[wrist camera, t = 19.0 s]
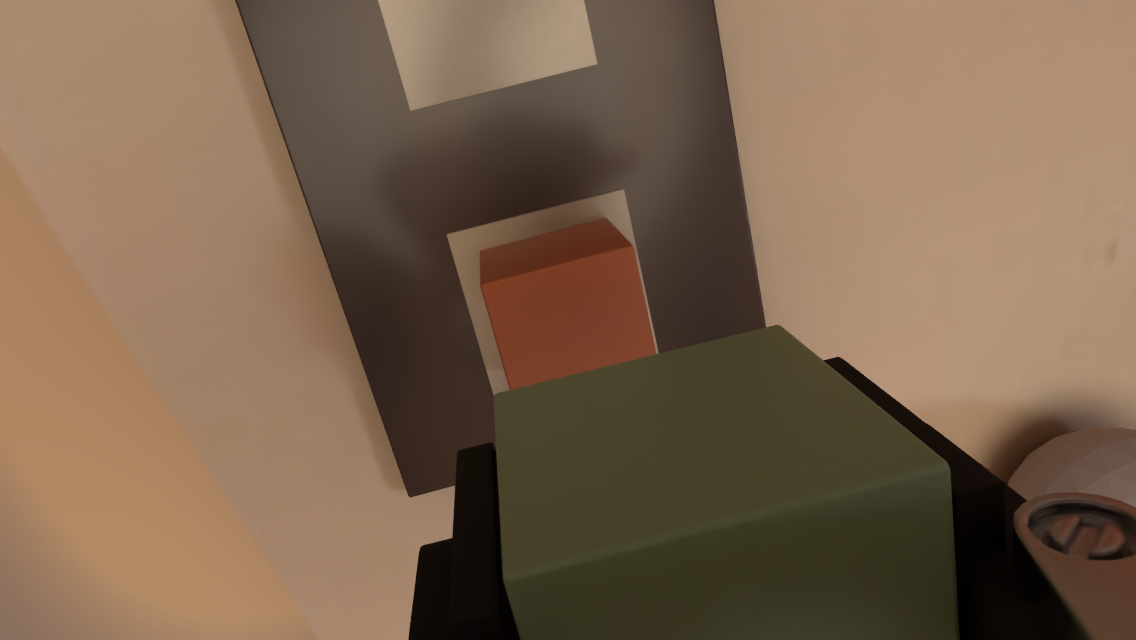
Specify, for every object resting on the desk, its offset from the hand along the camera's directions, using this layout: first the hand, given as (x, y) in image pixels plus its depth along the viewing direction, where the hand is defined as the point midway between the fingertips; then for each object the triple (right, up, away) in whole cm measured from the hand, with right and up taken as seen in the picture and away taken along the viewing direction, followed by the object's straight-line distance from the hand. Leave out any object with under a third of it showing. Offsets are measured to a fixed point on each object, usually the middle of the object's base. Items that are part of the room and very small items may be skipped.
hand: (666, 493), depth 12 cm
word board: (-3, +8, +13) cm, 16 cm away
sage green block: (0, 0, 0) cm, 0 cm away
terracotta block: (-2, +3, +14) cm, 15 cm away
